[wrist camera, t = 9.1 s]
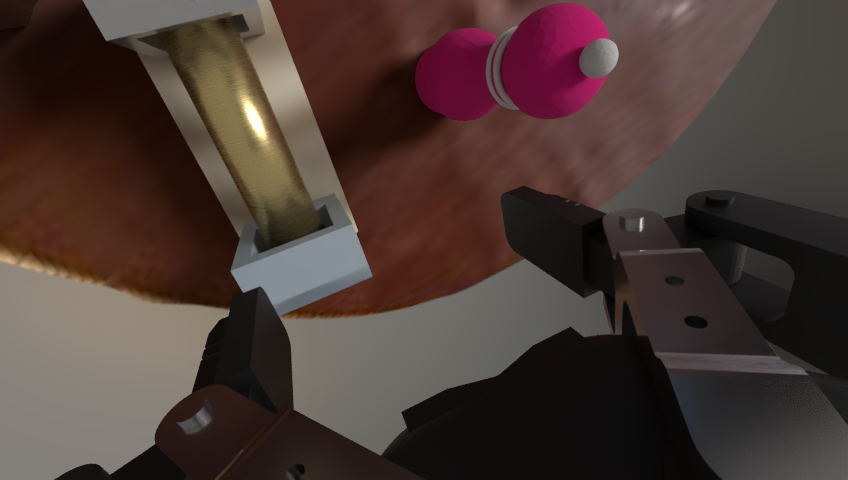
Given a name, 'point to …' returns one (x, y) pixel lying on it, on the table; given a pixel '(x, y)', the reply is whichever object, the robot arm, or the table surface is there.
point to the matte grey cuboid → (167, 19)
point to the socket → (303, 260)
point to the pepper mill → (519, 66)
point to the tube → (243, 127)
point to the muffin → (15, 13)
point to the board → (287, 106)
